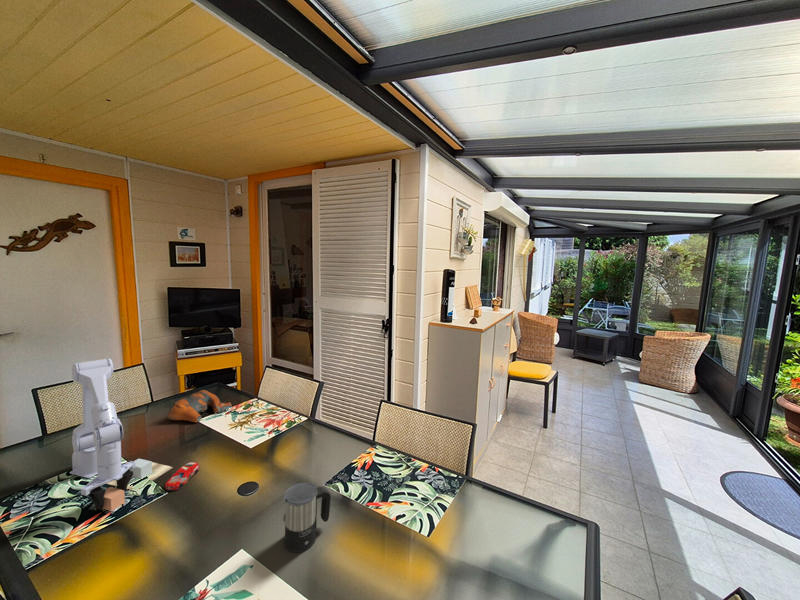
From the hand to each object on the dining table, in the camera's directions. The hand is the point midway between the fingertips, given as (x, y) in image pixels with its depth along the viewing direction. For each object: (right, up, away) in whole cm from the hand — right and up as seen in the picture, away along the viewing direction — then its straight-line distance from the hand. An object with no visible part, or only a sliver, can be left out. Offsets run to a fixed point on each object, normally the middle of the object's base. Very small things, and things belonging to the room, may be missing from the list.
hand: (110, 501), depth 105 cm
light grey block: (-3, 0, +15) cm, 15 cm away
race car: (+14, -1, +14) cm, 20 cm away
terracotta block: (0, -2, 0) cm, 2 cm away
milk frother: (+62, -6, -5) cm, 62 cm away
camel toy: (-9, +5, +63) cm, 64 cm away
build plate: (-3, 0, +15) cm, 15 cm away
